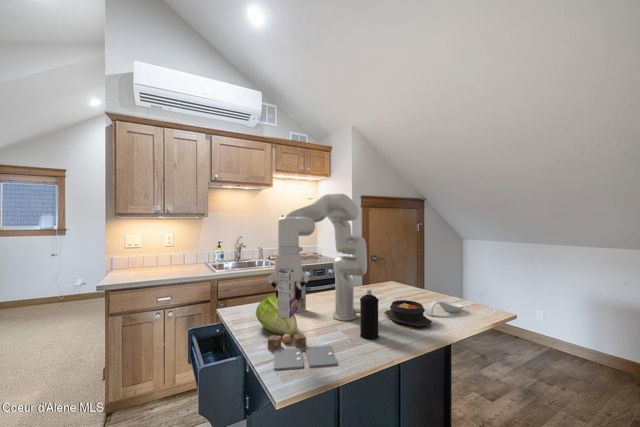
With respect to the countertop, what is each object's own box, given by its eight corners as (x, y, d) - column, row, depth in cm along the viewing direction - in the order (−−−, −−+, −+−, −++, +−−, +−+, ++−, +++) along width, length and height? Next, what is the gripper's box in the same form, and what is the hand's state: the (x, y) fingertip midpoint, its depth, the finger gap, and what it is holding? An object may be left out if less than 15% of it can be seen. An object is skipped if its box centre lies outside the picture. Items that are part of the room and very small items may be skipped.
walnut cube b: (280, 346, 113) (281, 336, 113) (277, 350, 109) (277, 340, 109) (271, 345, 114) (271, 335, 114) (267, 349, 110) (267, 339, 110)
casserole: (440, 325, 136) (440, 307, 136) (415, 333, 126) (415, 314, 126) (400, 310, 157) (400, 295, 157) (376, 316, 147) (376, 300, 147)
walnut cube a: (302, 343, 116) (302, 333, 116) (305, 347, 112) (305, 337, 112) (293, 344, 114) (293, 335, 114) (296, 349, 111) (296, 338, 111)
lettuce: (305, 342, 127) (274, 357, 118) (280, 310, 145) (251, 321, 136) (308, 316, 122) (275, 329, 113) (281, 286, 140) (251, 295, 131)
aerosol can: (374, 341, 117) (374, 293, 118) (356, 337, 122) (356, 290, 122) (381, 334, 124) (381, 289, 125) (364, 330, 129) (364, 286, 129)
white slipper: (449, 306, 165) (449, 294, 165) (467, 312, 155) (467, 299, 155) (420, 312, 154) (420, 299, 154) (438, 319, 144) (437, 305, 144)
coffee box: (306, 309, 158) (306, 281, 159) (301, 313, 152) (301, 283, 153) (291, 307, 162) (292, 279, 162) (286, 311, 156) (286, 282, 156)
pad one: (330, 347, 112) (330, 345, 112) (337, 365, 98) (337, 362, 98) (305, 348, 110) (305, 346, 110) (309, 367, 97) (309, 365, 97)
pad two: (300, 349, 110) (300, 347, 110) (303, 367, 96) (303, 365, 96) (274, 351, 109) (274, 348, 109) (274, 370, 95) (274, 367, 95)
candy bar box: (286, 308, 109) (286, 265, 109) (298, 309, 108) (299, 266, 108) (276, 318, 98) (277, 270, 98) (290, 319, 97) (291, 271, 97)
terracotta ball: (290, 340, 118) (290, 332, 118) (291, 344, 114) (291, 335, 114) (282, 341, 117) (282, 332, 117) (282, 345, 114) (282, 336, 114)
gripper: (310, 249, 108) (310, 296, 108) (265, 249, 106) (264, 297, 105) (313, 251, 101) (313, 301, 101) (264, 252, 98) (263, 303, 98)
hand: (288, 299), depth 103 cm, fingers closed on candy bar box, 6 cm apart
